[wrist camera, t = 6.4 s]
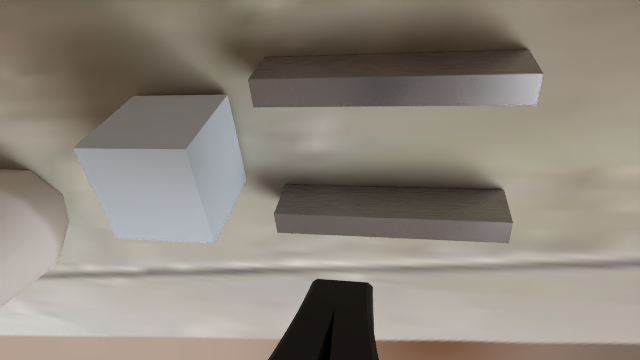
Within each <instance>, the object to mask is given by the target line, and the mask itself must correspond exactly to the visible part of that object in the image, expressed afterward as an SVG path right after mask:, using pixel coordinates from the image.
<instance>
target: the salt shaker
mask: <svg viewBox="0 0 640 360" xmlns="http://www.w3.org/2000/svg"><path fill="white" fill-rule="evenodd" d="M68 223H69V220H68V215H67V211H66V207H65V203H64V198H63V195H62V194H61V193H59V192H58V191H57V190H55V189H54V188H53V187H51V186H50V185H49V184H48V183H46V182H45V181H44V180H42V179H41V178H40V177H38V176H37V175H36V174H34V173H33V172H32V171H31V170H13V169H0V308H1V307H3V306H4V305H5V304H6V303H8V302H9V301H10V300H11V299H13V298H14V297H15V296H16V295H18V294H19V293H20V292H21V291H23V290H24V289H25V288H27V287H28V286H29V285H30V284H32V283H33V282H34V281H35V280H37V279H38V278H39V277H40V276H42V275H43V274H44V273H45V272H47V271H48V270H49V269H50V268H52V267H53V266H54V265H55V264H56V262H57V261H58V259H59V257H60V255H61V251H62V247H63V243H64V239H65V235H66V231H67V227H68Z"/></svg>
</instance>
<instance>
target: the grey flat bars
mask: <svg viewBox="0 0 640 360" xmlns="http://www.w3.org/2000/svg"><path fill="white" fill-rule="evenodd" d="M542 78H543V72H542V70H541V69H540V67H539V65H538V64H537V62H536V60H535V59H534V57H533V55H532V54H531V52H530V50H500V51H466V52H432V53H398V54H364V55H329V56H295V57H264V58H263V60H262V61H261V63H260V64H259V65H258V67H257V68H256V69H255V71H254V72H253V74H252V75H251V76H250V78H249V79H248V81H249V86H250V91H251V97H252V102H253V107H342V106H469V105H537V102H538V98H539V93H540V88H541V83H542ZM274 216H275V222H276V227H277V232H278V233H300V234H322V235H344V236H366V237H388V238H409V239H431V240H453V241H475V242H497V243H509V239H510V234H511V229H512V224H513V222H512V218H511V214H510V211H509V207H508V203H507V200H506V196H505V192H504V190H487V189H447V188H408V187H368V186H328V185H288V184H285V186H284V189H283V192H282V194H281V197H280V199H279V202H278V205H277V207H276V210H275V212H274Z"/></svg>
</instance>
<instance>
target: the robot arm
mask: <svg viewBox="0 0 640 360" xmlns="http://www.w3.org/2000/svg"><path fill="white" fill-rule="evenodd" d="M268 360H379V358H378V354H377V348H376V342H375V336H374V319H373V287H372V286H371V285H370V284H369V283H366V282H352V281H338V280H324V279H316V280H315V281H313V282H312V284H311V287H310V289H309V291H308V293H307V295H306V297H305V299H304V301H303V303H302V305H301V306H300V308H299V310H298V312H297V314H296V315H295V317H294V319H293V321H292V322H291V324H290V326H289V328H288V329H287V331H286V332H285V334H284V336H283V337H282V339H281V340H280V342H279V344H278V345H277V347H276V349H275V350H274V352H273V353H272V355H271V356H270V358H269V359H268Z"/></svg>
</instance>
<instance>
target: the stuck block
mask: <svg viewBox="0 0 640 360" xmlns="http://www.w3.org/2000/svg"><path fill="white" fill-rule="evenodd" d="M73 150H74V152H75V154H76V156H77V158H78V160H79V162H80V164H81V166H82V169H83V171H84V173H85V175H86V177H87V179H88V181H89V183H90V186H91V188H92V190H93V192H94V194H95V196H96V198H97V200H98V202H99V205H100V207H101V209H102V211H103V213H104V215H105V217H106V219H107V221H108V224H109V226H110V228H111V230H112V232H113V234H114V236H115V238H120V239H139V240H158V241H178V242H197V243H215V241H216V239H217V237H218V235H219V233H220V231H221V229H222V227H223V225H224V223H225V221H226V219H227V217H228V215H229V213H230V211H231V210H232V208H233V206H234V204H235V202H236V200H237V198H238V196H239V194H240V192H241V190H242V188H243V186H244V184H245V182H246V180H247V179H246V175H245V170H244V166H243V161H242V157H241V152H240V148H239V143H238V139H237V134H236V130H235V125H234V121H233V117H232V112H231V108H230V103H229V99H228V95H166V96H133V97H131V98H130V99H129V100H128V101H127V102H126V103H124V104H123V105H122V106H121V107H120V108H119V109H118V110H116V111H115V112H114V113H113V114H112V115H111V116H109V117H108V118H107V119H106V120H105V121H104V122H103V123H101V124H100V125H99V126H98V127H97V128H96V129H94V130H93V131H92V132H91V133H90V134H89V135H88V136H86V137H85V138H84V139H83V140H82V141H81V142H80V143H78V144H77V145H76V146H75V147H74V148H73Z"/></svg>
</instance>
